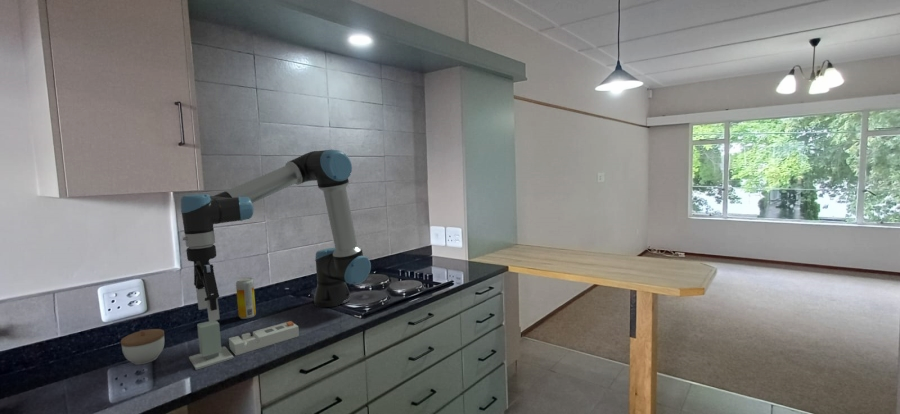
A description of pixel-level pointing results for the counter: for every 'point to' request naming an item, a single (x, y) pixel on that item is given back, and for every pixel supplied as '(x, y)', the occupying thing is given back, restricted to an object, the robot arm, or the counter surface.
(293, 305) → the counter surface
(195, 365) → the mat
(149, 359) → the lidded jar
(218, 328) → the block
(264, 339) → the power strip
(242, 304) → the beer can
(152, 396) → the counter surface
